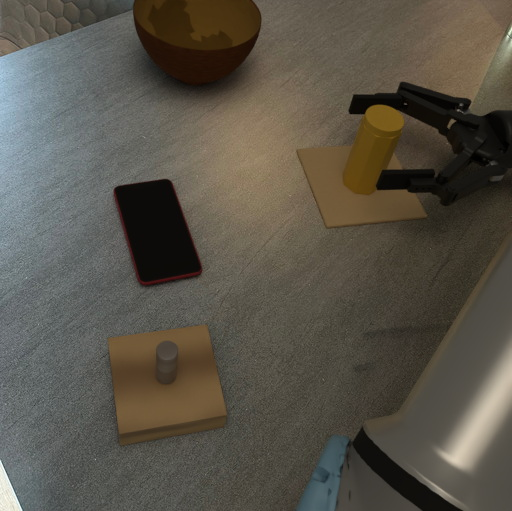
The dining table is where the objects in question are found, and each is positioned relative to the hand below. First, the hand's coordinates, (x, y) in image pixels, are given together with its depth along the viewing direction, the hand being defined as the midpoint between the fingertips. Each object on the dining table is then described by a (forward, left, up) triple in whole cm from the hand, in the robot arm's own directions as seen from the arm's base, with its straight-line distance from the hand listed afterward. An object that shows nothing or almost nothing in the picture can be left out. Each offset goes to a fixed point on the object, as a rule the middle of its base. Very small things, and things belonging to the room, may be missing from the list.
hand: (364, 140), depth 78 cm
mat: (0, -2, -8) cm, 8 cm away
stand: (-25, +28, -8) cm, 39 cm away
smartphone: (-5, +26, -8) cm, 28 cm away
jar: (0, -2, -7) cm, 8 cm away
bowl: (+25, +16, -8) cm, 31 cm away
